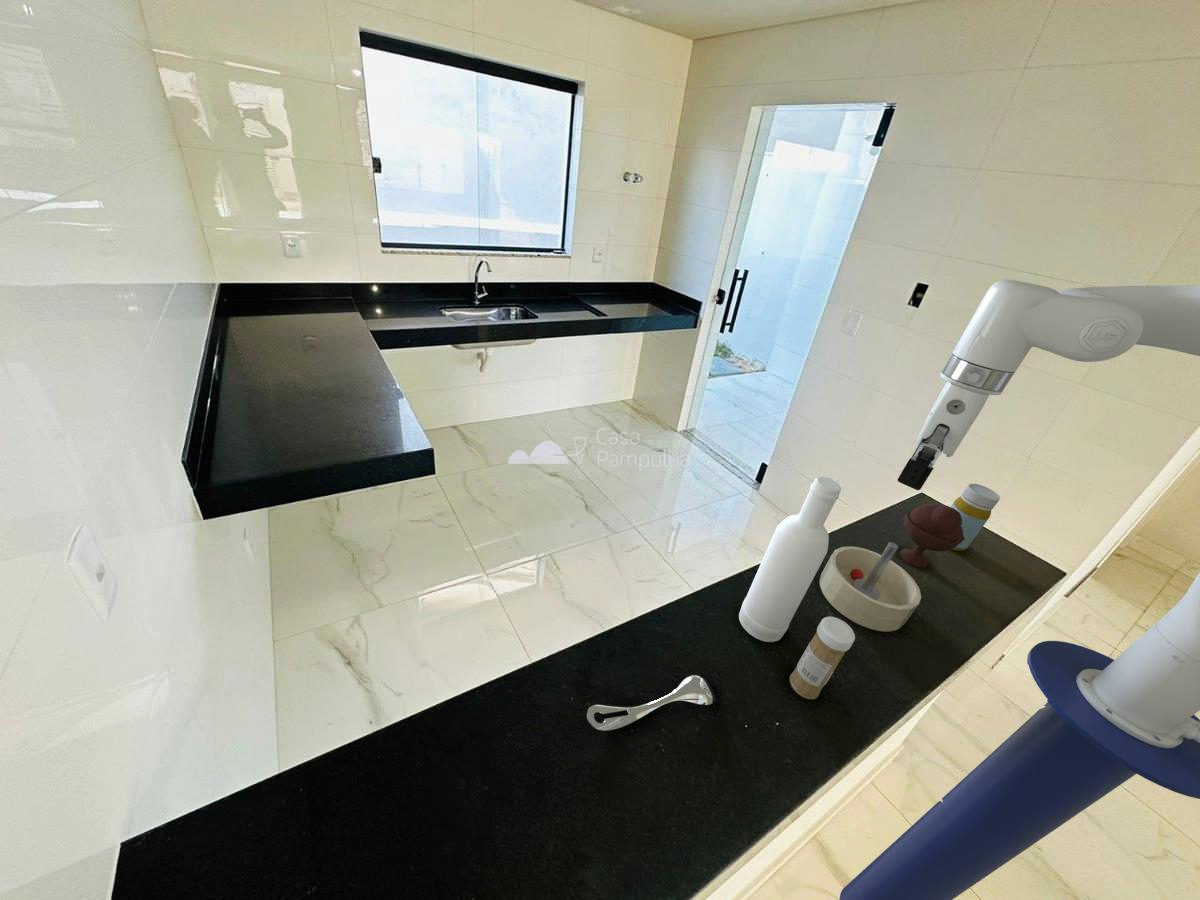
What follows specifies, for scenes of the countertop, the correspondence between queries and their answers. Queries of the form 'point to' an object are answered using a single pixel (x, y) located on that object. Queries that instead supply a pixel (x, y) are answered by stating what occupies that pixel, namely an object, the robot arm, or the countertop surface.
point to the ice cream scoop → (654, 703)
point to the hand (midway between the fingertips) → (914, 474)
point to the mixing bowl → (875, 614)
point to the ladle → (875, 573)
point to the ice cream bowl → (931, 531)
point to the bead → (856, 574)
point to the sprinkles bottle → (821, 657)
